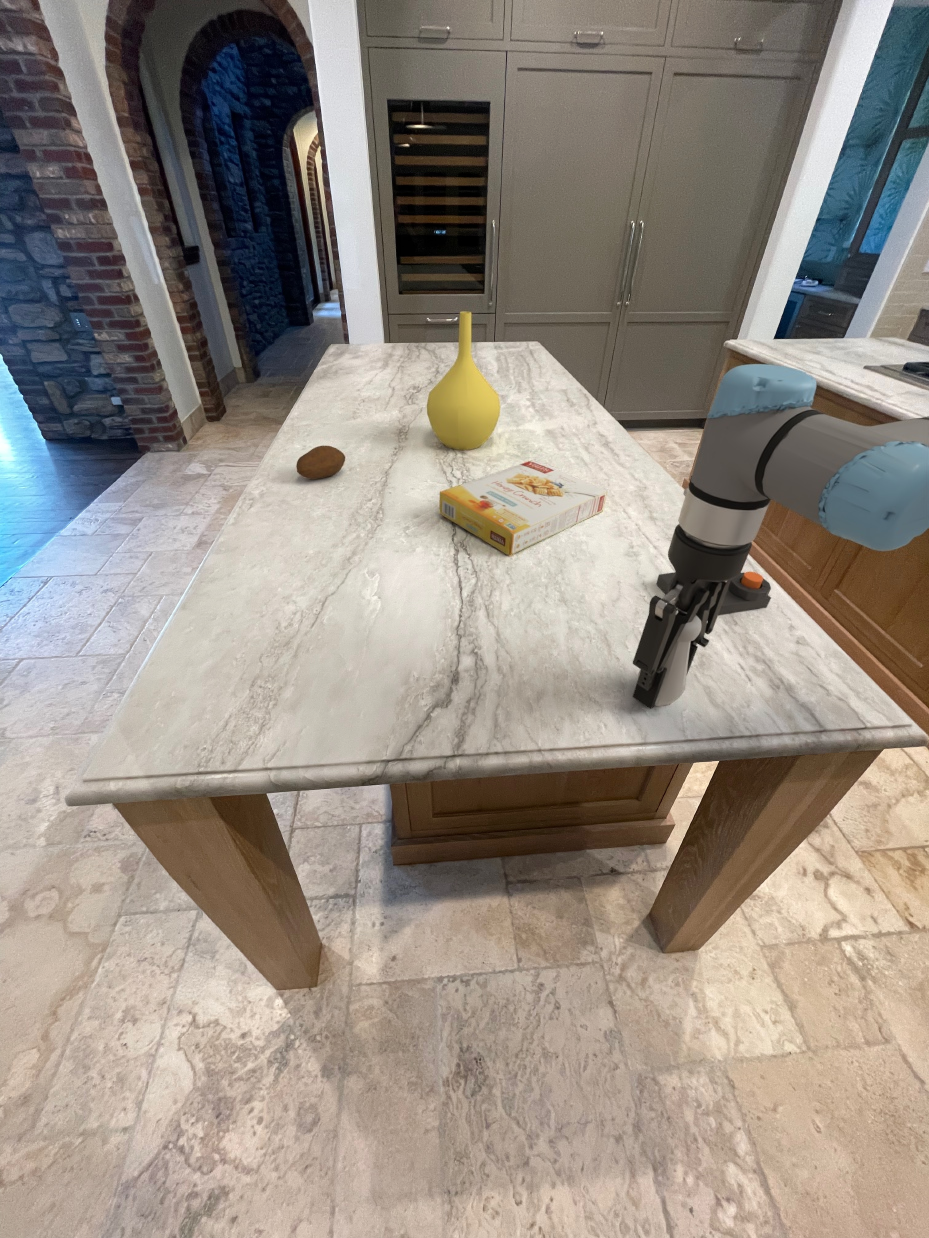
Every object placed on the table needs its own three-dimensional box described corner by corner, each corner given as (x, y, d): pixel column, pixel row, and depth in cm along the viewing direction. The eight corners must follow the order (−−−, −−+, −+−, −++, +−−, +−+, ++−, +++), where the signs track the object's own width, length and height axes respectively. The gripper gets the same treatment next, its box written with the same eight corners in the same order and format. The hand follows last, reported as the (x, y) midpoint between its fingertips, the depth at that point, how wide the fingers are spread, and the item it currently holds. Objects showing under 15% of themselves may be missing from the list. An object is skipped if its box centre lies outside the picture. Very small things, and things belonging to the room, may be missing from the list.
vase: (511, 442, 140) (522, 312, 122) (468, 462, 129) (473, 323, 110) (457, 426, 149) (459, 303, 130) (412, 444, 137) (407, 312, 119)
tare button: (751, 578, 86) (755, 570, 85) (763, 588, 84) (767, 580, 83) (737, 580, 85) (740, 572, 84) (748, 590, 83) (752, 582, 82)
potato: (291, 480, 119) (285, 449, 114) (334, 466, 125) (330, 436, 121) (309, 489, 115) (303, 458, 111) (352, 474, 122) (348, 444, 118)
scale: (729, 573, 93) (736, 556, 91) (770, 608, 85) (778, 590, 83) (655, 583, 90) (661, 566, 88) (691, 621, 82) (698, 603, 80)
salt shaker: (634, 675, 72) (658, 597, 64) (678, 683, 71) (708, 605, 63) (633, 705, 68) (658, 626, 60) (680, 715, 67) (712, 636, 59)
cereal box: (437, 490, 103) (534, 455, 118) (437, 516, 106) (531, 478, 122) (514, 532, 92) (610, 486, 107) (511, 559, 95) (604, 511, 110)
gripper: (728, 494, 62) (675, 645, 76) (627, 544, 52) (588, 706, 67) (793, 519, 57) (723, 675, 72) (695, 579, 48) (637, 744, 62)
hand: (658, 690), depth 69 cm, fingers closed on salt shaker, 6 cm apart
